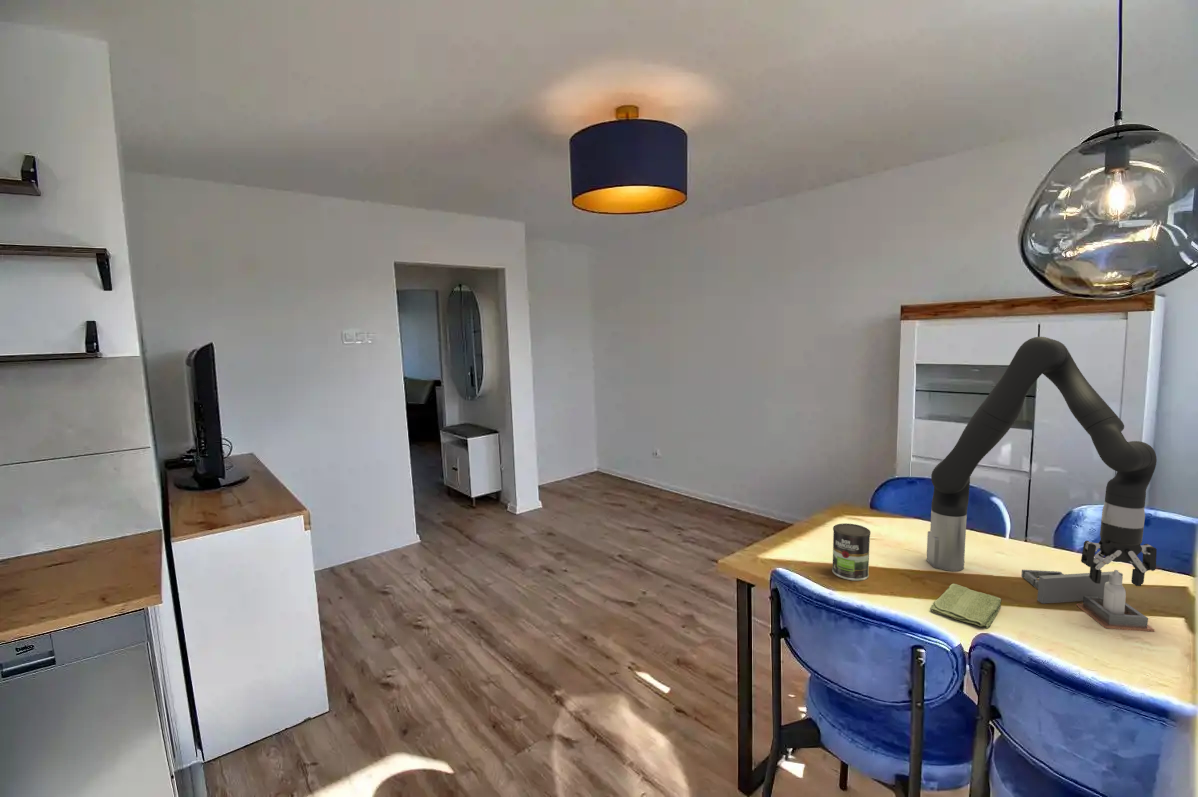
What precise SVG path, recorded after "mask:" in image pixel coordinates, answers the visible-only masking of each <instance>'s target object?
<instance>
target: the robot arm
mask: <svg viewBox="0 0 1198 797" xmlns="http://www.w3.org/2000/svg"><path fill="white" fill-rule="evenodd" d="M1041 375H1043V376H1044V377H1046V378H1047V379H1048V380H1049V381H1050V382H1051V383H1053V385H1054V386H1055V387H1056V388H1057V389H1058V390H1059V393H1060V394H1061V395H1062V396H1063V399H1064V401H1065V403H1066V405H1067V407H1068V409H1069V410H1070V412H1071V414H1072V415H1073V416H1074V418H1075V419H1076V420H1077V422H1078V423H1079V425H1081V427H1082V428H1083V429H1084V430H1085V432H1086V433H1087V434H1088V435H1089V436H1090V438H1091V441H1092V443H1093V444H1092V445H1094V448H1095V450H1096V452H1097V454H1098V455H1099V456H1098V457H1100V460H1101V461H1102V462H1103V463H1104V464H1105V465H1106V466H1107V467H1108V468H1110V469H1111V470H1113V471H1115V472H1116V473H1115V476H1114V477H1112V478H1111V479H1110V480H1108V481H1107V484H1106V487H1105V493H1104V494H1105V496H1104V503H1103V506H1102V512H1101V522H1100V529H1099V537H1100V539H1099V541H1098V542H1091V541H1090V540H1085V541H1084V543H1083V547H1082V553H1081V558H1080V562H1081V563H1083V564H1084V565H1086V566H1087V567H1088V568H1089V573H1090V575H1089V577H1090V579H1091V580H1092V581H1093V582H1094V583H1096V584H1100V581H1101V572H1103V571H1102V568H1103V567H1105V566H1106V565H1109V564H1110V563H1112V562H1114V563H1121V562H1122V563H1127V564H1129V563H1130V565H1132V567H1133V568H1132V573H1131V580H1130V581H1131V584H1132V585H1133V586H1136V587H1141V586H1142V585H1144V582H1145V575H1146V574H1145V573H1147V572H1148V571H1152V572H1154V571H1156V570H1157V548H1156V547H1155V546H1152V545H1150V544H1148V543H1144V544H1143V545H1141V544H1142V542H1143V537H1144V527H1145V520H1146V512H1145V506H1146V498H1147V489H1148V487H1149V485H1150V482H1151V480H1152V478H1153V475H1154V473H1155V470H1156V468H1157V467H1156V466H1157V463H1158V462H1157V460H1158V459H1157V453H1156V451H1155V449H1154V448H1153V447H1152V446H1151V445H1150V444H1149V443H1146V442H1145V441H1144V442H1143V441H1139V440H1132V441H1127V439H1126V437H1125V436H1124V434H1123V433H1122V431H1124V429H1125V424H1124V422H1123V421H1122V420H1121V418H1120V417H1119V416H1118V415H1117V413H1115V411H1114V410H1113V408H1111V407H1110V405H1109V404H1108V403H1106V401H1105V400H1104V398H1102V397H1101V395H1099V392H1097V391H1096V390H1095V389H1094V388H1093V386H1092V385H1091V384H1090V383H1089V382H1088V380H1087V379H1086V378H1085V376H1084V375H1083V373H1082V371H1081V370H1080V369H1079V367H1078V365H1077V363H1076V362H1075V361H1074V358H1073V357H1072V355H1071V353H1070V351H1069V349H1068V348H1067V346H1066V345H1065V344H1063V343H1062V342H1061V341H1060V340H1057V339H1053V338H1050V337H1047V336H1046V337H1045V336H1036V337H1035V336H1034V337H1031V338H1029V339H1027V340H1026V341H1024V342H1023V343H1022V344H1021V345H1020V346H1019V347H1018V349H1017V351H1016V352H1015V354H1014V356H1013V357H1012V360H1011V361H1010V363H1009V365H1008V366H1007V368H1006V370H1005V371H1004V373H1003V375H1002V377H1001V378H1000V379H999V380H998V382H997V383H996V384H995V385H994V387H993V388H992V389H991V391H990V393H989V394H988V395H987V396H986V398H985V399H984V400H983V401H982V403H981V404H980V405H979V407H978V408H977V409H976V411H975V412H974V413H973V415H972V417H971V418H970V420H969V421H968V423H967V424H966V426H965V428H964V429H963V431H962V433H961V434H960V436H959V438H958V440H957V442H956V444H955V445H954V446H953V448H952V450H951V451H950V452H949V453H948V454H947V455H946V456H945V458H943V460H941V461H940V462H939V463H937V465H936V466H935V467H934V468H933V469H932V472H931V477H930V478H931V479H930V480H931V483H932V485H933V495H932V500H931V504H930V505H931V508H930V509H931V512H930V528H929V529H930V530H929V531H927V538H926V542H927V543H926V561H927V562H928V563H929V564H930V565H931V566H932V568H934V569H936V568H937V569H939V570H945V571H949V572H951V571H952V572H953V571H955V572H956V571H957V572H958V571H959V572H960V571H962V570H963V569H964V568H965V555H966V554H965V552H966V537H967V536H966V535H967V534H966V532H967V520H968V518H967V517H968V506H969V498H970V485H971V476H972V474H973V472H974V471H975V469H976V468H977V466H978V465H979V463H980V462H981V461H982V459H984V458H985V456H986V455H988V454H989V453H990V452H991V451H992V450H993V448H995V447H996V445H998V443H999V442H1000V441H1001V440H1002V439H1003V438H1004V437H1005V436H1006V434H1007V433H1008V432H1009V430H1011V429H1012V427H1013V426H1014V424H1015V423H1016V421H1017V420H1018V418H1019V416H1020V414H1021V412H1022V408H1023V405H1024V404H1025V403H1024V402H1025V399H1026V397H1027V394H1028V392H1029V391H1030V389H1031V388H1032V386H1033V385H1034V384H1035V383H1036V381H1037V380H1038V379H1039V378H1040V376H1041ZM1140 553H1141V554H1142V561H1141V560H1140V558H1139V557H1138V555H1139V554H1140ZM1103 557H1104V558H1103Z"/></svg>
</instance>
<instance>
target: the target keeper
mask: <svg viewBox="0 0 1198 797" xmlns="http://www.w3.org/2000/svg"><path fill="white" fill-rule="evenodd" d="M1103 599H1104V597H1095V596H1084V598H1083V601H1082V603H1080V602H1079V603H1076V607H1078V608H1079V609H1080V610H1081V611H1083V612H1084V613H1085V614H1087V615H1088V617H1091V618H1092V620H1094V621H1095V622H1097V623H1098V624H1099V625H1100V626H1102V627H1103V628H1104V629H1113V630H1124V631H1136V632H1137V631H1139V632H1155V628H1153V627H1152V626H1150V625H1149V618H1148V617H1147V616H1146V615H1144V614H1143V613H1141V611H1138V609H1135V608H1134V607H1132V605H1130V604H1129V603H1127V602H1126V601H1125V613H1124V614H1112V613H1110V612H1109V611H1108V610H1106V609H1105V608H1104V607H1103Z"/></svg>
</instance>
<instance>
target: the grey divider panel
mask: <svg viewBox="0 0 1198 797" xmlns="http://www.w3.org/2000/svg"><path fill="white" fill-rule="evenodd" d="M1118 572H1119V571H1118ZM1113 573H1114V571H1101V581H1100V584H1096V583H1094V582H1093V581H1092V580H1091V579H1090V577H1089V575H1090V572H1083V573H1068V574H1064V573H1063V574H1064V575H1048V576H1039V578H1038V580H1039V584H1038V589H1037V602H1039V603H1041V604H1054V603H1055V604H1056V603H1057V604H1058V603H1073V602H1083V598H1084V596H1095V597H1104V586H1105V583H1106V582H1109V574H1113ZM1119 575H1121V576H1122V577H1123V575H1124V574H1123V573H1122V572H1119Z"/></svg>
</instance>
